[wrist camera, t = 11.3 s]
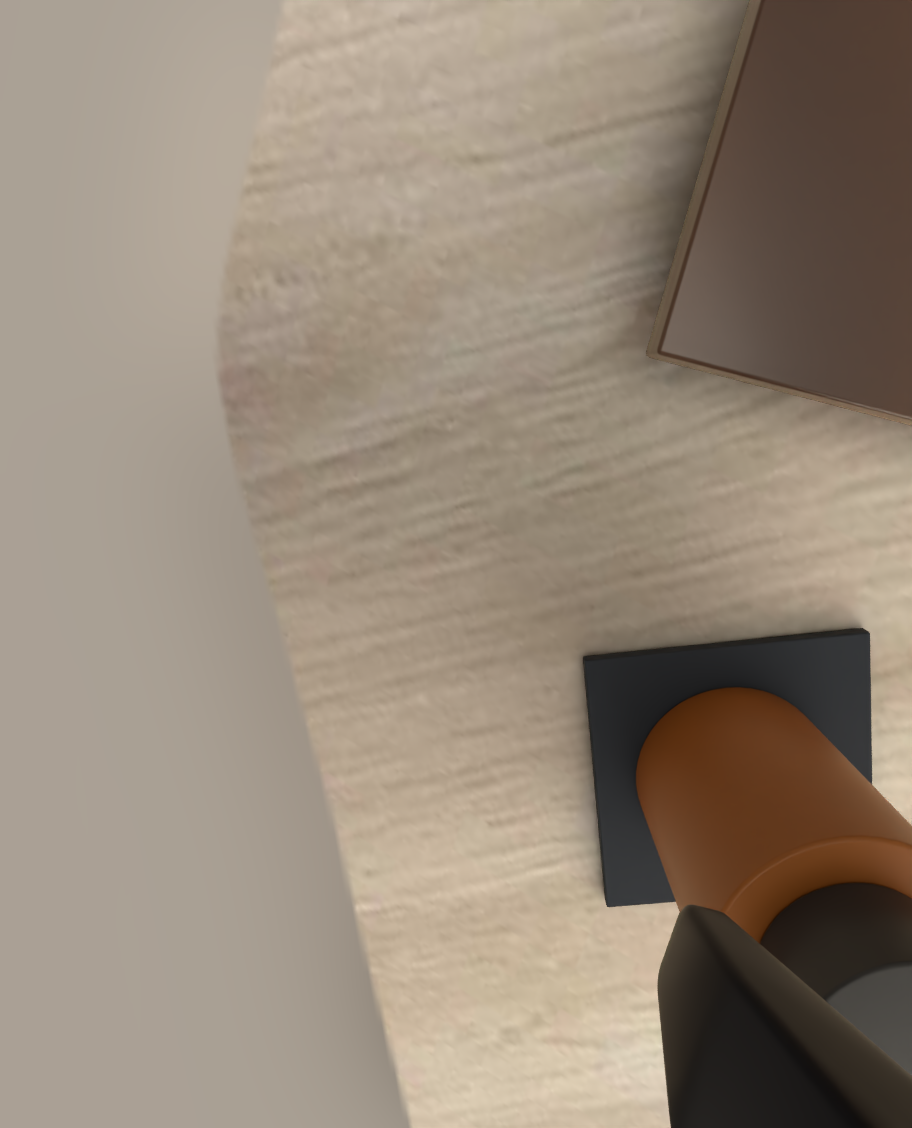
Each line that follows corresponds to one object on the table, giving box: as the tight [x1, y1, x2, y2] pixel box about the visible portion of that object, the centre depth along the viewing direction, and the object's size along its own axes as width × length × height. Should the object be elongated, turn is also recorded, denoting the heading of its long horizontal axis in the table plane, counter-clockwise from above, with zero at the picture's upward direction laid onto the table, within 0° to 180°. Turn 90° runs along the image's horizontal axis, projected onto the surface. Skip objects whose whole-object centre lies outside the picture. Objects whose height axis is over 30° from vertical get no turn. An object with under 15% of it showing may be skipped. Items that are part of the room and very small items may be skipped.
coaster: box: [583, 628, 872, 907], centre depth 21 cm, size 7×7×1 cm
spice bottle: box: [636, 687, 912, 1076], centre depth 16 cm, size 5×5×9 cm
